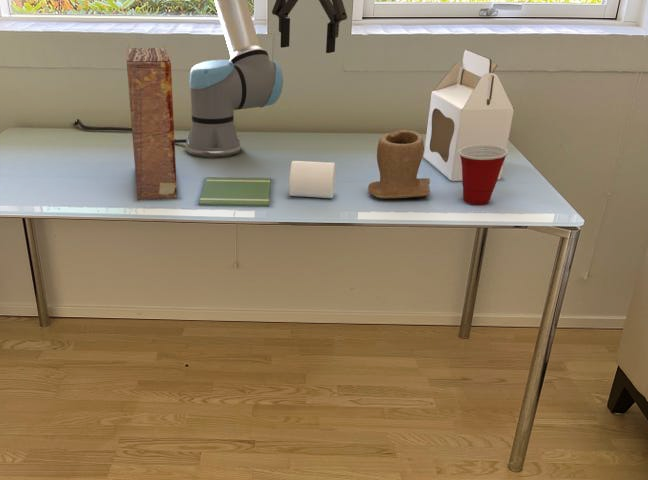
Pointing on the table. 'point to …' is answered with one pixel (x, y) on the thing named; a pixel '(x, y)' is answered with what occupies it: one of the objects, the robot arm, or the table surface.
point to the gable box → (466, 114)
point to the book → (152, 122)
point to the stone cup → (400, 166)
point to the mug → (312, 179)
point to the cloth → (236, 191)
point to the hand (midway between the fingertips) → (307, 49)
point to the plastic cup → (480, 171)
